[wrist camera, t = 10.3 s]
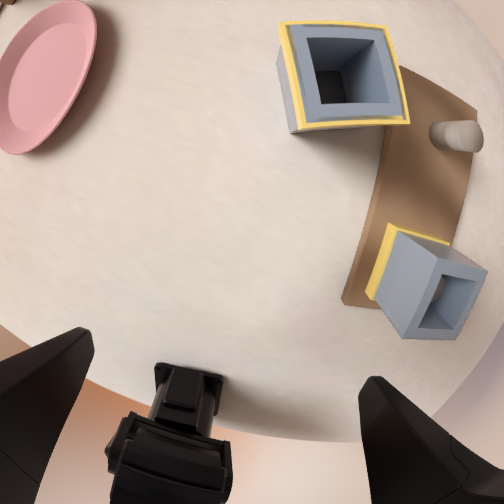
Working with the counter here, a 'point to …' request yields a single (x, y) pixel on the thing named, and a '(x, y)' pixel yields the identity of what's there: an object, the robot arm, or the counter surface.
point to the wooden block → (7, 1)
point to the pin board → (418, 177)
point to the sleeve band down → (423, 284)
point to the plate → (44, 73)
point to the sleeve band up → (352, 71)
